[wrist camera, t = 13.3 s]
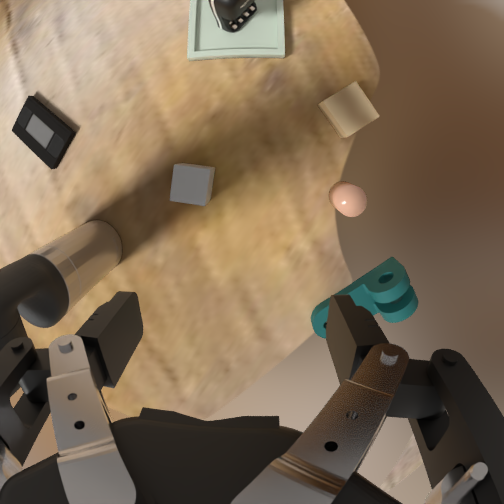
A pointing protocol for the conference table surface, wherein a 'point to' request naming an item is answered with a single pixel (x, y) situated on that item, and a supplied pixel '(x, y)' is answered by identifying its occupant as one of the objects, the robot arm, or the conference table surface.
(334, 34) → the conference table surface
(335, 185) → the pink glossy rounded part
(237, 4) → the battery charger
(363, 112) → the oak block
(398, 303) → the bracket
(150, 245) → the conference table surface
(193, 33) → the tray
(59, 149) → the vhs tape
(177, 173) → the grey box
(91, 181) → the conference table surface
